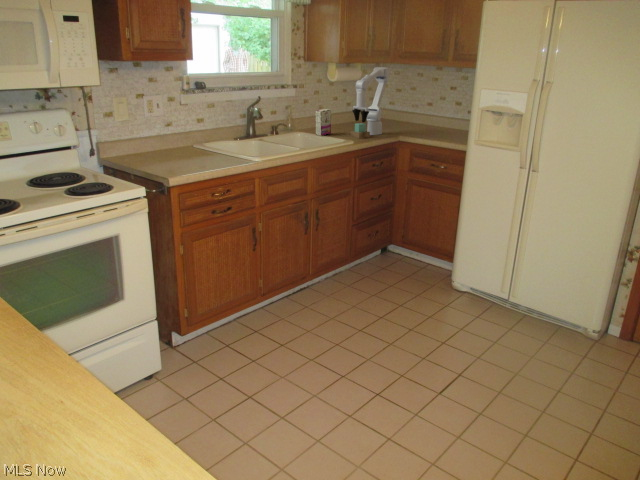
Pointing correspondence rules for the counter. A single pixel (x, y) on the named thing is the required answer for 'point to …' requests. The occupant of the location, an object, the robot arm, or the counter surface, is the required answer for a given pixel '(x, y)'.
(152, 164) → the counter surface
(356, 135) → the walnut block
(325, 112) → the candy bar box
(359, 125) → the teal cube
